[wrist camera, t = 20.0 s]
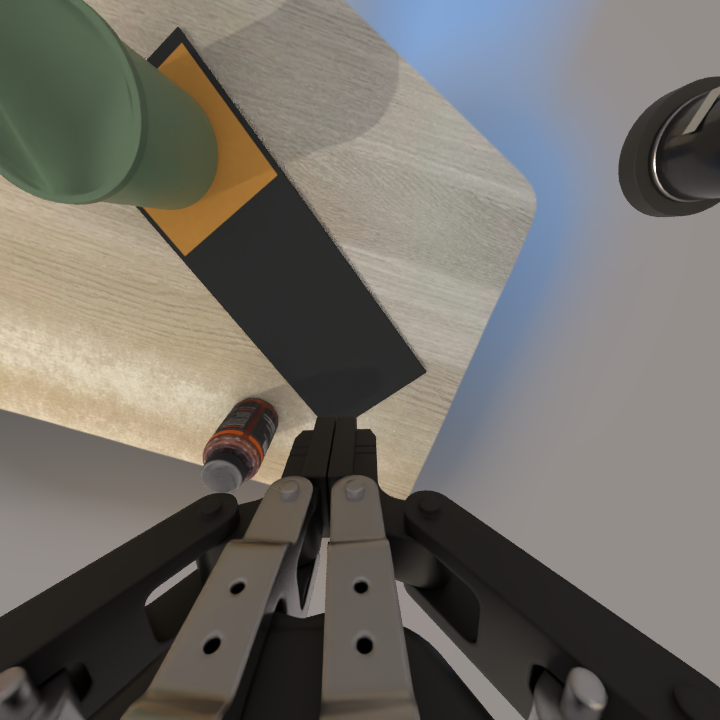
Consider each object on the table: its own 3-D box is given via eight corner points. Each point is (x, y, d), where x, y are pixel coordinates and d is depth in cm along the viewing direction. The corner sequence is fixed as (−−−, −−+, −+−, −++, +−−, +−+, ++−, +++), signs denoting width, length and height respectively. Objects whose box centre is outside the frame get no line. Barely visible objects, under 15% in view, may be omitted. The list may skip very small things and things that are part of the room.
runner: (426, 371, 41) (426, 372, 41) (332, 431, 44) (331, 433, 44) (179, 28, 31) (177, 26, 31) (78, 137, 34) (75, 136, 33)
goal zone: (278, 175, 35) (278, 175, 34) (186, 256, 37) (184, 256, 37) (183, 43, 31) (181, 42, 31) (89, 143, 34) (87, 142, 34)
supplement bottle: (221, 411, 44) (175, 468, 33) (259, 388, 42) (224, 439, 32) (251, 446, 45) (216, 511, 35) (288, 425, 44) (264, 485, 33)
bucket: (206, 65, 31) (104, -43, 19) (234, 207, 35) (164, 194, 23) (80, 81, 32) (-98, -14, 20) (121, 220, 36) (-5, 212, 24)
